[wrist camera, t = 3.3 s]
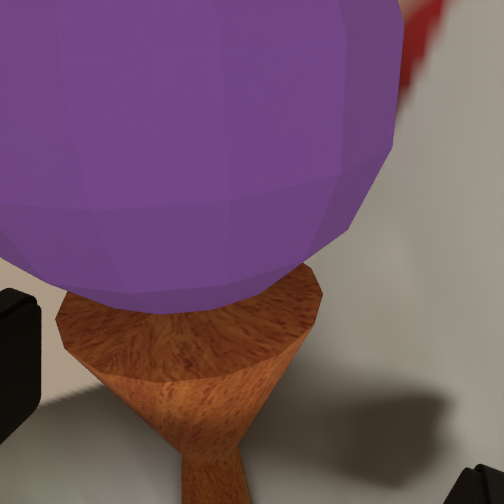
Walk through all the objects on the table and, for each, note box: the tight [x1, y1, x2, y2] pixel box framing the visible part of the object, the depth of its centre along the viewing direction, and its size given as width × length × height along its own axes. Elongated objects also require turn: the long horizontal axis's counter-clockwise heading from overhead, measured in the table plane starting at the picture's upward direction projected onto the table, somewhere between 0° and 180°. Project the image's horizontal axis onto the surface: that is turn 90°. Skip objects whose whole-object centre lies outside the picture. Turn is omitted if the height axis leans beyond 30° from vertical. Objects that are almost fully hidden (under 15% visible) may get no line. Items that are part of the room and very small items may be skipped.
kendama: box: [0, 0, 404, 504], centre depth 10 cm, size 6×6×20 cm
